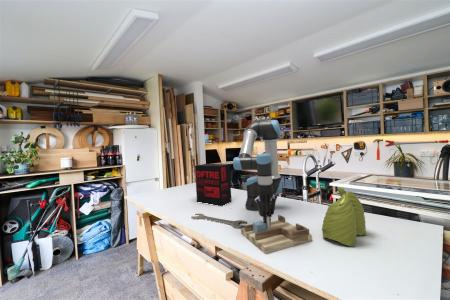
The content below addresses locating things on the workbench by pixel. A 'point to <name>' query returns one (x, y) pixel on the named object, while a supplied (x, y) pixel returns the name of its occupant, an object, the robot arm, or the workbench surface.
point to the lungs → (344, 219)
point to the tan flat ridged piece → (277, 235)
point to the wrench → (222, 221)
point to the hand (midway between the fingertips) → (267, 228)
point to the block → (259, 226)
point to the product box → (213, 183)
